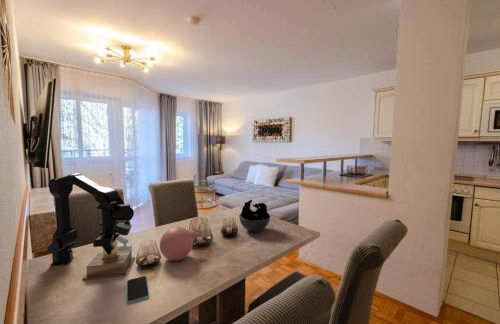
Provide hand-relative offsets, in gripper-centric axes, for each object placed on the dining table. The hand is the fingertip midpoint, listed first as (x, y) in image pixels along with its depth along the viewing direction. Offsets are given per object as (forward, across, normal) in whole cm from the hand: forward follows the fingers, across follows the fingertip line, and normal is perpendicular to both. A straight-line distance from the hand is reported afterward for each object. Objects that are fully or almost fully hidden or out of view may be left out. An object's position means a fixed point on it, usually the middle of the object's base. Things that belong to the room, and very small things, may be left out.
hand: (110, 253), depth 101 cm
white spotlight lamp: (+7, +18, +1) cm, 19 cm away
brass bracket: (+4, 0, 0) cm, 4 cm away
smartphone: (+8, -18, -15) cm, 25 cm away
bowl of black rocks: (+7, +30, -74) cm, 80 cm away
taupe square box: (+7, 0, 0) cm, 7 cm away
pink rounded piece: (+7, +4, -30) cm, 31 cm away
